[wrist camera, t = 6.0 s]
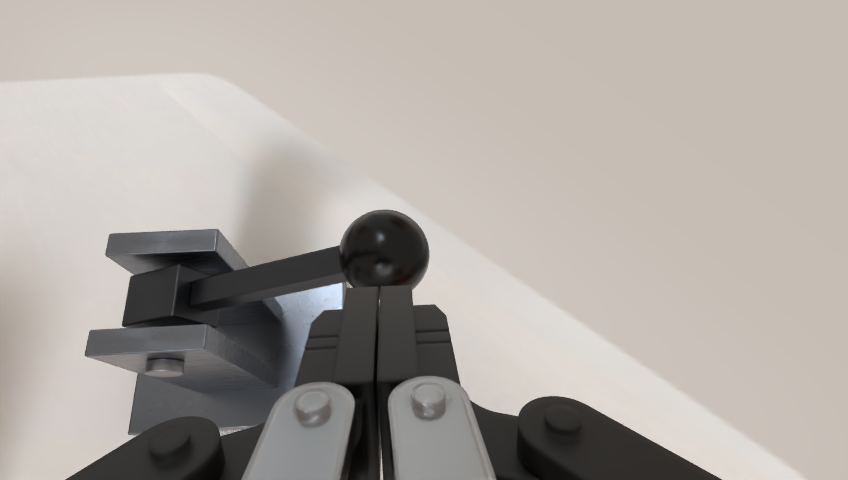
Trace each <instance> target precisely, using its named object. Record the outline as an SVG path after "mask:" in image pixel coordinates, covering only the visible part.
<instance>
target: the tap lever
mask: <svg viewBox="0 0 848 480" xmlns="http://www.w3.org/2000/svg"><path fill="white" fill-rule="evenodd" d="M428 263H429V246H428V242H427V239H426V237H425V234H424V232H423V231H422V229H421V228H420V227H419V226H418V224H417V223H416V222H415V221H414V220H412V219H411V218H410V217H408V216H406V215H405V214H402V213H400V212H397V211H393V210H376V211H372V212H368V213H366V214H364V215H362V216H360V217H359V218H357V219H356V220H355V221H354V222H353V223H352V224H351V225H350V226H349V227H348V228H347V230H346V231H345V233H344V235H343V237H342V240H341V243H340V246H336V247H331V248H327V249H323V250H319V251H315V252H311V253H306V254H302V255H298V256H294V257H290V258H286V259H281V260H277V261H273V262H269V263H265V264H261V265H256V266H252V267H248V268H244V269H240V270H235V271H231V272H227V273H223V274H219V275H215V276H211V275H209V274H206V273H203V272H201V271H198V270H195V269H193V268H190V267H187V266H185V265H182V264H176V265H172V266H168V267H164V268H160V269H156V270H153V271H149V272H145V273H141V274H137V275H133V276H131V277H130V282H129V288H128V293H127V299H126V305H125V310H124V316H123V321H122V326H123V327H126V328H139V327H158V326H177V325H196V324H208V325H210V326H211V327H213V328H216V327H217V326H218V318H219V309H220V308H225V307H229V306H234V305H239V304H244V303H248V302H253V301H258V300H263V299H267V298H272V297H277V296H282V295H286V294H291V293H296V292H301V291H305V290H310V289H315V288H320V287H324V286H329V285H334V284H339V283H343V282H348V283H349V284H350V285H351V286H352V287H353V288H359V287H378V290H379V300H380V287H381V286H400V285H411V288H412V290H413V289H414V288H415V287H416V286H417V285H418V284H419V283H420V282H421V280H422V279H423V277H424V275H425V273H426V270H427V267H428Z"/></svg>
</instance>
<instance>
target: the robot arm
mask: <svg viewBox="0 0 848 480" xmlns="http://www.w3.org/2000/svg"><path fill="white" fill-rule="evenodd" d="M381 449H382V464H383V480H722V479H720V478H718V477H716V476H714V475H713V474H711V473H709V472H707V471H705V470H703V469H702V468H700V467H698V466H696V465H694V464H693V463H691V462H689V461H687V460H685V459H684V458H682V457H680V456H678V455H676V454H674V453H673V452H671V451H669V450H667V449H665V448H664V447H662V446H660V445H658V444H656V443H655V442H653V441H651V440H649V439H647V438H646V437H644V436H642V435H640V434H638V433H636V432H635V431H633V430H631V429H629V428H627V427H626V426H624V425H622V424H620V423H618V422H617V421H615V420H613V419H611V418H609V417H607V416H606V415H604V414H602V413H600V412H598V411H597V410H595V409H593V408H591V407H589V406H588V405H586V404H584V403H581V402H579V401H576V400H574V399H570V398H566V397H559V396H549V397H542V398H537V399H535V400H532V401H530V402H529V403H527V404H526V405H525V406H524V407H523V408H522V409H521V411H520V413H519V416H513V415H507V414H502V413H497V412H493V411H490V410H487V409H484V408H482V407H480V406H478V405H477V404H475V403H473V402H472V401H471V400H470V399H469V397H468V394H467V392H466V391H465V390H464V389H463V388H462V387H461V385H460V381H459V376H458V371H457V366H456V361H455V357H454V352H453V347H452V343H451V337H450V332H449V327H448V323H447V318H446V315H445V314H444V313H443V312H442V311H441V310H440V309H439V308H438V307H437V306H436V305H415V306H413V300H412V288H411V285H400V286H381V287H380V305H379V290H378V287H359V288H347V289H346V295H345V300H344V306H343V309H335V310H324V311H323V312H322V313H321V314H320V315H319V316H318V317H317V318H316V319H315V320H314V321H313V322H312V323H311V327H310V330H309V334H308V339H307V341H306V345H305V351H304V352H303V356H302V359H301V363H300V366H299V370H298V374H297V377H296V381H295V384H294V388H293V389H291V390H290V391H288V392H286V393H285V394H283V395H282V396H281V397H280V398H279V399H278V400H277V401H276V403H275V404H274V406H273V408H272V410H271V412H270V414H269V417H268V419H267V421H265V422H263V423H261V424H259V425H257V426H254V427H251V428H248V429H244V430H241V431H238V432H234V433H231V434H227V435H224V436H220V433H219V429H218V427H217V426H216V424H215V423H214V422H212V421H211V420H209V419H207V418H203V417H197V416H186V417H179V418H174V419H170V420H167V421H165V422H162V423H160V424H157V425H155V426H153V427H151V428H150V429H148V430H146V431H144V432H143V433H141V434H139V435H138V436H136V437H135V438H133V439H131V440H130V441H128V442H126V443H125V444H123V445H121V446H120V447H118V448H117V449H115V450H113V451H112V452H110V453H108V454H107V455H105V456H103V457H102V458H100V459H99V460H97V461H95V462H94V463H92V464H90V465H89V466H87V467H85V468H84V469H82V470H81V471H79V472H77V473H76V474H74V475H72V476H71V477H69V478H67V479H66V480H380V466H381Z"/></svg>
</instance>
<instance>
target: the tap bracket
mask: <svg viewBox="0 0 848 480" xmlns="http://www.w3.org/2000/svg"><path fill="white" fill-rule="evenodd" d="M105 255H106V256H107V257H108V258H110V259H111V260H113V261H114V262H116V263H117V264H119V265H120V266H122V267H123V268H125V269H126V270H128V271H129V272H131V273H132V274H134V275H137V274H141V273H145V272H149V271H153V270H156V269H160V268H164V267H168V266H172V265H176V264H182V265H185V266H187V267H190V268H193V269H195V270H198V271H201V272H203V273H206V274H209V275H211V276H215V275H219V274H223V273H227V272H231V271H235V270H240V269H244V268H248V267H249V266H248V265H247V264H246V262H245V261H244V260H243V259H242V258H241V256H240V255H239V254H238V253H237V252H236V250H235V249H234V248H233V247H232V245H231V244H230V243H229V242H228V241H227V239H226V238H225V237H224V236H223V234H222V233H221V232H220V231H219V230H218V229H207V230H184V231H161V232H138V233H115V234H110V235H109V239H108V243H107V248H106V253H105ZM345 295H346V282H343V283H339V284H334V285H329V286H324V287H320V288H315V289H310V290H305V291H301V292H296V293H291V294H286V295H282V296H277V297H272V298H267V299H263V300H258V301H253V302H248V303H244V304H239V305H234V306H229V307H225V308H220V309H219V318H218V326H217V327H216V328H213V327H211V326H210V325H208V324H196V325H177V326H158V327H139V328H120V329H101V330H90V332H89V336H88V341H87V346H86V351H85V356H86V357H90V358H93V359H96V360H99V361H102V362H105V363H108V364H111V365H114V366H118V367H121V368H124V369H127V370H130V371H133V372H136V373H138V375H137V381H136V387H135V394H134V400H133V406H132V412H131V419H130V425H129V431H128V435H135V436H138V435H139V434H141V433H143V432H144V431H146V430H148V429H150V428H151V427H153V426H155V425H157V424H160V423H162V422H165V421H167V420H170V419H174V418H179V417H186V416H197V417H203V418H207V419H209V420H211V421H212V422H214V423H215V424H216V426H217V427H218V429H219V431H223V430H239V429H248V428H251V427H254V426H257V425H259V424H261V423H263V422H265V421H267V419H268V417H269V414H270V412H271V410H272V408H273V406H274V404H275V403H276V401H277V400H278V399H279V398H280V397H281V396H282V395H283V394H285V393H286V392H288V391H290V390H291V389H293V388H294V384H295V381H296V377H297V374H298V370H299V366H300V363H301V359H302V356H303V352H304V351H305V345H306V341H307V339H308V334H309V330H310V327H311V323H312V322H313V321H314V320H315V319H316V318H317V317H318V316H319V315H320V314H321V313H322V312H323V311H324V310H335V309H343V306H344V300H345Z"/></svg>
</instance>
